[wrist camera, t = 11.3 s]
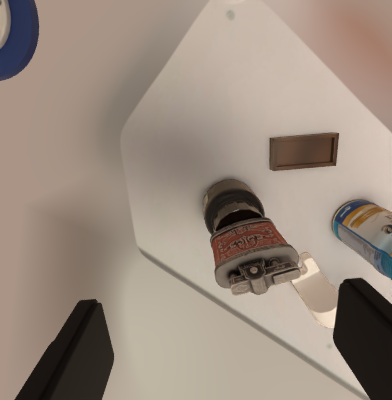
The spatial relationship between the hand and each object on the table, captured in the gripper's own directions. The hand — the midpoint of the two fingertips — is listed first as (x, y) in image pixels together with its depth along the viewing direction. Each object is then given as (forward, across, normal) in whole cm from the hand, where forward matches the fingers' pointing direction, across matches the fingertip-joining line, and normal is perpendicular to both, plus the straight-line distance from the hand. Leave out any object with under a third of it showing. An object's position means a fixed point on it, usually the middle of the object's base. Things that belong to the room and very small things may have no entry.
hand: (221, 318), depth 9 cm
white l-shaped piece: (+31, -19, +22) cm, 43 cm away
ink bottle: (+31, -5, +6) cm, 32 cm away
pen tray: (+31, -17, -2) cm, 36 cm away
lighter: (+19, -5, +6) cm, 21 cm away
